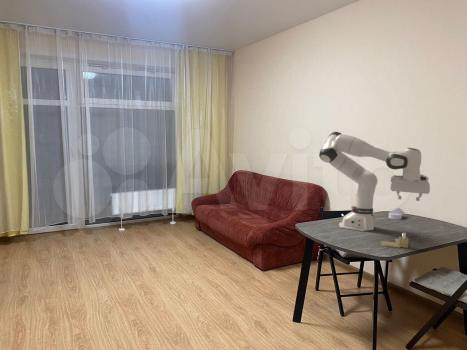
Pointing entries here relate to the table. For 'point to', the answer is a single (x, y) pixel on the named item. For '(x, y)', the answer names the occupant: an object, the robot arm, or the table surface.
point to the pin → (403, 235)
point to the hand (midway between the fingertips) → (408, 199)
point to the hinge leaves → (397, 243)
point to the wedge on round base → (396, 214)
